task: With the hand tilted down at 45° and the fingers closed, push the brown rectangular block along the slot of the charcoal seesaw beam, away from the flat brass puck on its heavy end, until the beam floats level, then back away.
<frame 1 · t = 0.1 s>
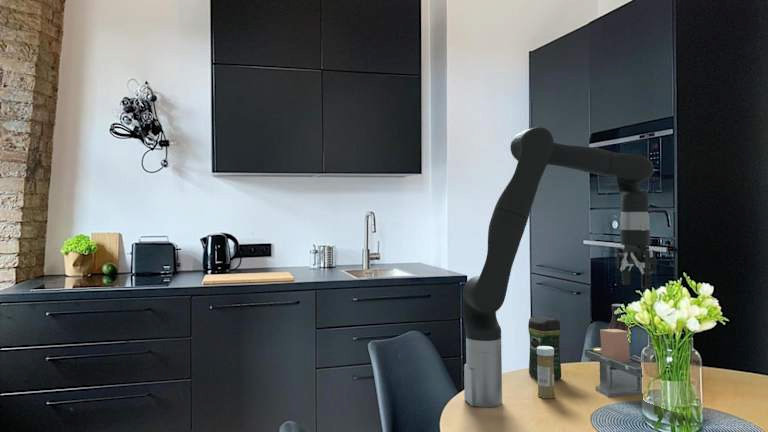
hand: (635, 286, 158), 29 cm above the table, tool pointing down, fingers open, 8 cm apart
sprinkles bottle: (546, 397, 154), on the table
brass weight: (601, 354, 166), point 8 cm above the table, touching beam
coffee jar: (545, 378, 172), on the table
beam: (621, 361, 157), point 8 cm above the table, hinge at -2.0°, touching brass weight, brown rectangular block
sauce bottle: (619, 365, 185), on the table
fulcrum: (621, 392, 156), on the table
brown rectangular block: (615, 359, 159), point 9 cm above the table, touching beam
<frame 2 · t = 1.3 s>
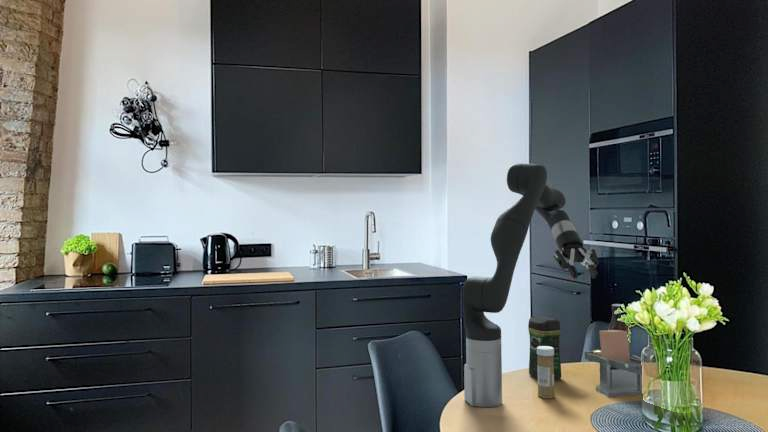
hand: (585, 276, 174), 30 cm above the table, tool tilted 45°, fingers open, 5 cm apart
beam: (621, 361, 157), point 8 cm above the table, hinge at -5.4°, touching brass weight, brown rectangular block
everything else where it was.
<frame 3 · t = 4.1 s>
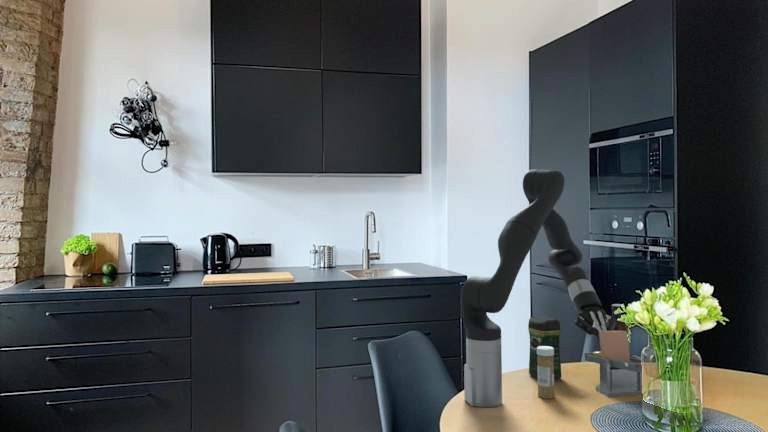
hand: (606, 345, 163), 11 cm above the table, tool tilted 45°, fingers closed
beam: (620, 361, 157), point 8 cm above the table, hinge at -7.3°, touching brass weight, brown rectangular block
brown rectangular block: (615, 360, 159), point 8 cm above the table, tilted 9°, touching beam, gripper
everything else where it was.
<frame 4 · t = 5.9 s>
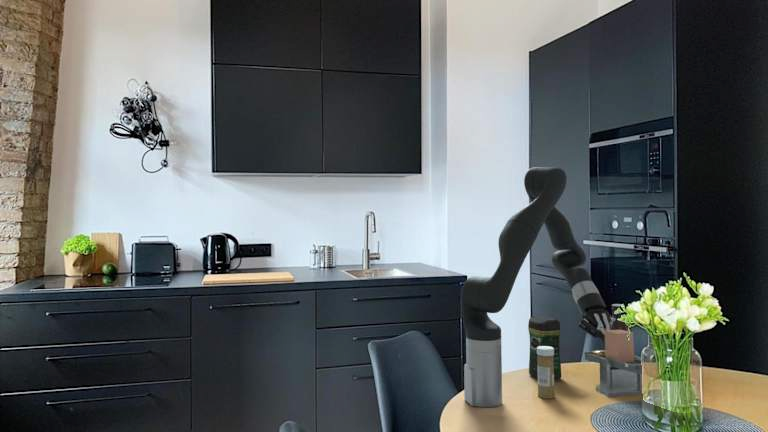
hand: (611, 348, 161), 11 cm above the table, tool tilted 45°, fingers closed
beam: (620, 361, 157), point 8 cm above the table, hinge at -6.0°, touching brass weight
brown rectangular block: (619, 360, 157), point 9 cm above the table
everything else where it was.
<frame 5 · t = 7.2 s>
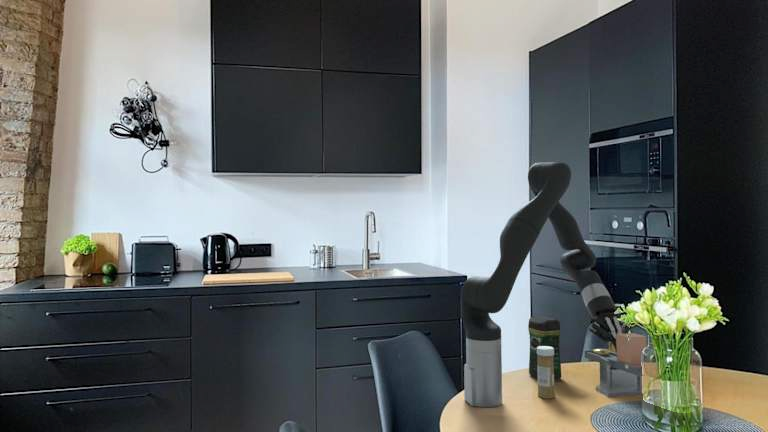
hand: (623, 353, 155), 11 cm above the table, tool tilted 45°, fingers closed
beam: (621, 361, 157), point 8 cm above the table, hinge at -3.6°, touching brass weight, brown rectangular block
brown rectangular block: (632, 365, 151), point 9 cm above the table, touching beam, gripper
everything else where it was.
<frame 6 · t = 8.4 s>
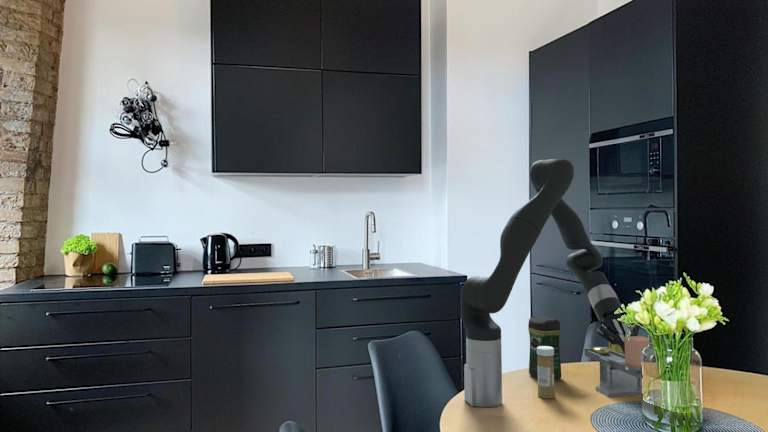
hand: (631, 356, 152), 11 cm above the table, tool tilted 45°, fingers closed
beam: (621, 361, 156), point 8 cm above the table, hinge at -1.1°, touching brass weight, brown rectangular block
brown rectangular block: (640, 369, 148), point 9 cm above the table, touching beam, gripper
everything else where it was.
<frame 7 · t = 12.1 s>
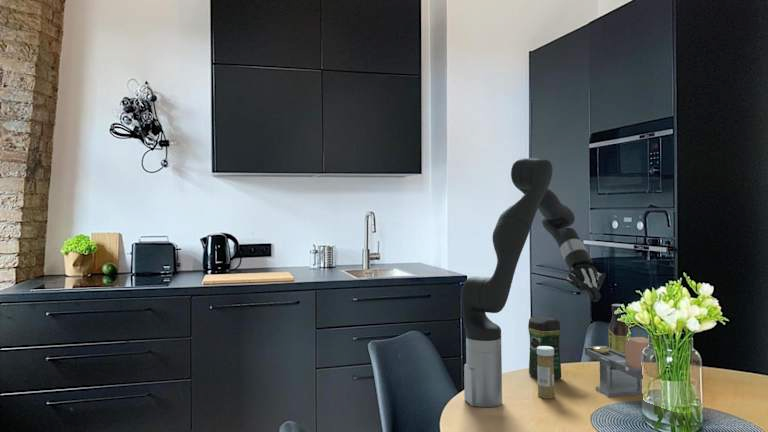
hand: (597, 299, 168), 24 cm above the table, tool tilted 45°, fingers closed
beam: (621, 361, 156), point 8 cm above the table, hinge at 0.3°, touching brass weight, brown rectangular block
brown rectangular block: (641, 370, 148), point 8 cm above the table, touching beam
everything else where it was.
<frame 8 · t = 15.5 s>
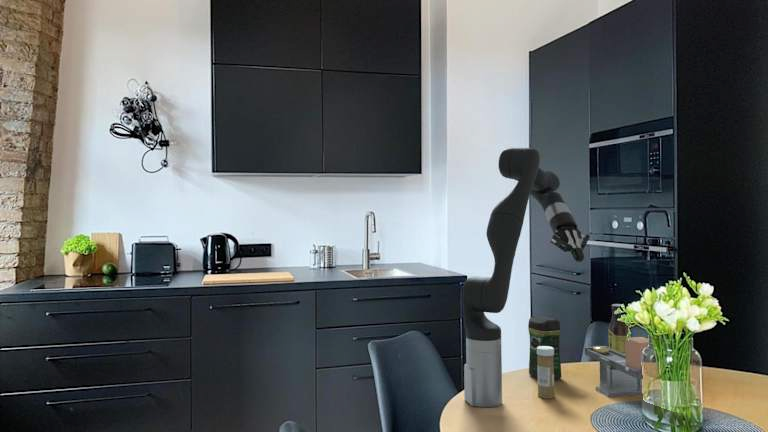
hand: (580, 260, 170), 36 cm above the table, tool tilted 45°, fingers closed
nothing on the table moved.
at the end: beam at +0° (first picture: -2°); brown rectangular block 0.4 cm from the target spot on the beam, point 0.4 cm above the beam's base; brown rectangular block tilted 0° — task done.
